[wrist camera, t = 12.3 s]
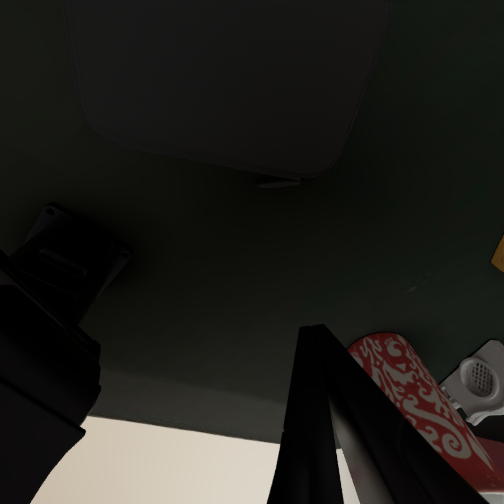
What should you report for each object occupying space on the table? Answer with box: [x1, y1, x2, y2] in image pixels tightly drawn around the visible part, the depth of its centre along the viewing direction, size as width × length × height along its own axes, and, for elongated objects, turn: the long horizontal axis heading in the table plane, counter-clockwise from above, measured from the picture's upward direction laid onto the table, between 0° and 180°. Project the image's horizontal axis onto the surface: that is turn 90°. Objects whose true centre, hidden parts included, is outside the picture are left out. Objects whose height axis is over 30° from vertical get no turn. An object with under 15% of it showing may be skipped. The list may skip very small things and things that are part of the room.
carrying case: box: [61, 0, 392, 188], centre depth 14 cm, size 11×3×15 cm
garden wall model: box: [439, 340, 504, 426], centre depth 31 cm, size 12×2×6 cm, turn 168°
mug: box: [347, 332, 504, 504], centre depth 26 cm, size 13×9×14 cm
